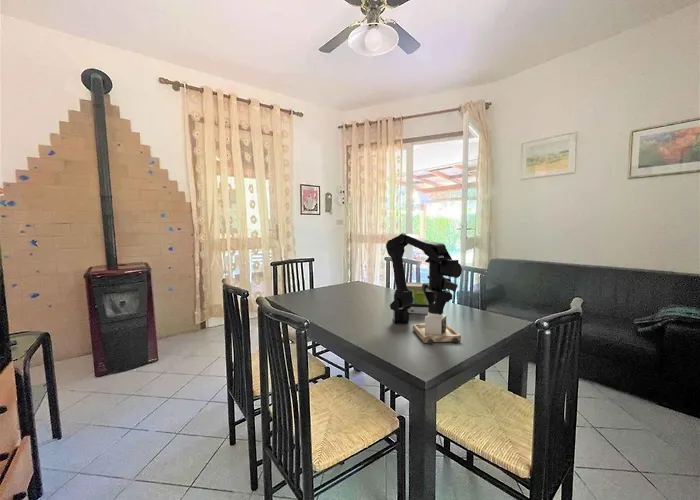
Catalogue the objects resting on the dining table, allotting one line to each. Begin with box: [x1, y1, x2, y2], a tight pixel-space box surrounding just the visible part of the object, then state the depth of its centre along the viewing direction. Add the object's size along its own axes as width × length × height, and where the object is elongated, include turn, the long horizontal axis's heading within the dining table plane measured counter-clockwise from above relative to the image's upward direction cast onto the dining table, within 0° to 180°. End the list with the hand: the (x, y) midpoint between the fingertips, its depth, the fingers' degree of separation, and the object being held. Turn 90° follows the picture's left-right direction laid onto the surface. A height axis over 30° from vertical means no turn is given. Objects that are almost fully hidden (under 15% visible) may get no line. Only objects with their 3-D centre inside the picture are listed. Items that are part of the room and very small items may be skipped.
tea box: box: [406, 281, 429, 315], centre depth 160 cm, size 15×10×15 cm, turn 82°
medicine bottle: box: [424, 302, 447, 336], centre depth 126 cm, size 7×7×12 cm
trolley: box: [412, 322, 462, 345], centre depth 126 cm, size 15×17×3 cm
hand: (435, 311), depth 125 cm, fingers open, 9 cm apart
